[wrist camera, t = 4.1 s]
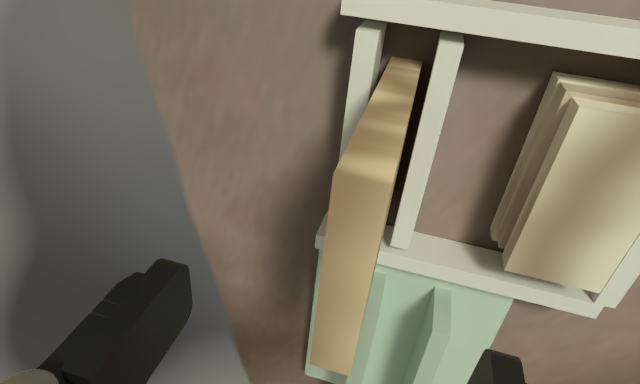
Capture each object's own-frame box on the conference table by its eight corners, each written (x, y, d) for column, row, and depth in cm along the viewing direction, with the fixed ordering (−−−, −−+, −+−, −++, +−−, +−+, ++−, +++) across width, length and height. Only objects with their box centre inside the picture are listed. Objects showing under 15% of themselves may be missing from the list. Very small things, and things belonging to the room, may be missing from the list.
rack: (754, 36, 16) (797, 51, 14) (592, 288, 24) (605, 321, 22) (355, -19, 19) (343, -12, 17) (325, 223, 27) (314, 247, 25)
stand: (514, 282, 25) (524, 342, 22) (452, 408, 33) (452, 468, 29) (323, 235, 27) (303, 282, 24) (308, 364, 35) (290, 415, 31)
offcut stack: (676, 90, 18) (719, 122, 15) (584, 248, 23) (603, 296, 20) (553, 71, 19) (571, 97, 16) (490, 227, 24) (495, 269, 21)
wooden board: (422, 61, 20) (391, 186, 10) (391, 197, 24) (349, 376, 15) (391, 56, 20) (333, 173, 11) (366, 192, 25) (309, 364, 15)
